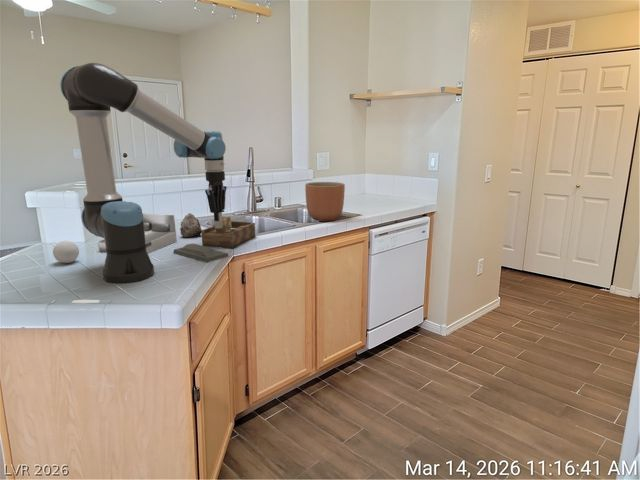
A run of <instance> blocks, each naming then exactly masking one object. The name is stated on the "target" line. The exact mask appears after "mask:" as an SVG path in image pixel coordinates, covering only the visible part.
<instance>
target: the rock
mask: <svg viewBox="0 0 640 480" xmlns="http://www.w3.org/2000/svg"><path fill="white" fill-rule="evenodd" d="M179 230H180V235H181V236H182V237H185V238H191V237H194V236H195V237H200V236H201V235H202V233H201V230H203V229H202V228H201V223H200V221H199V219H198V218H196V217H195V215H194V214H193V213H190V212H189V213H187V215H185V216H184V218H183V220H181V222H180V228H179Z"/></svg>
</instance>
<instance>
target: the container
mask: <svg viewBox="0 0 640 480" xmlns="http://www.w3.org/2000/svg"><path fill="white" fill-rule="evenodd" d="M143 217H144V218H143V221H144V232H145V242H146V251H147V253H148V254H150V253H152V252H155V251H157V250H160V249H162V248H164V247H167V246H169V245H171V244H173V243H175V242H176V243H177V242H178V240H177V230H176V221H175V215H174V214H159V213H158V214H155V213H143ZM97 245H98V251H99V252H100V253H106V246H105V238H103V239H101V240H99V241H98V242H97Z"/></svg>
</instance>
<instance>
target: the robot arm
mask: <svg viewBox="0 0 640 480" xmlns="http://www.w3.org/2000/svg"><path fill="white" fill-rule="evenodd" d="M59 84H60V92H61V93H62V96H63V97H64V98H65V100H66V101H67V105H68V112H69V113H70V114H71V115H72V116H74V117H75V122H76V127H77V134H78V141H79V146H80V148H79V149H80V152H81V153H80V155H81V158H82V159H81V160H82V167H83V171H84V172H83V173H84V178H85V186H86V192H87V193H86V195H85V196H84V197H83V199H82V201H83V209H82V211H81V216H80V217H81V222H82V225H83V227H84V228H85V229H86V230H87V231H88V232H89V233H91V234H93V235H94V236H96V237H99V238H102V239H105V246H106V252H105V253H106V255H105V256H106V257H105V261H104V268H103V270H102V279H103V280H104V281H105V282H108V283H113V284H126V283H133V282H138V281H141V280H146V279H148V278H150V277H152V276H153V275H154V274H155V266H154V264H153V263H152V261H151V258H150V255H149V253H147V251H146V242H145V232H144V221H143V218H144V217H143V214H144V213H143V209H142V207H141V205H139V204H138V203H137V202H132V201H125V200H123V196H122V195H121V194H120V193H119V192H117V186H116V179H115V172H114V165H113V158H112V150H111V143H110V135H109V128H108V127H109V126H108V121H107V117H108V116H109V115H110V114H111V108H113V109H116V110H117V111H118V112H120V113H126V112H127V113H129V114H131V115H132V116H134V117H135V118H137V119H139V120H141V121H143V122H145V123H146V124H148V125H149V126H151V127H153V128H154V129H156V130H158V131H159V132H161V133H163V134H165V135H167V137H170V138H171V139H173V140H174V141H173V152H174V153H175V156H177V157H178V158H185V159H187V158H197V159H198V158H200V159H201V158H202V159H204V170H205V181H206V182H208V188H207V189H205V191H204V192H205V194H206V198H207V203H208V206H209V207H208V208H209V211H210V213H211V214H213V223H214V222H215V224H214V225H215V228H218V229H221V228H223V223H222V216H223V213H225V209H226V192H227V189H228V188H227V186H225V185H224V182H223V181H225V180H226V175H225V174H226V173H225V171H224V170H225V160H224V155H225V153H226V143H225V141H224V139H223V134H222V132H220V131H218V130H217V131H213V130H209V131H203V130H202V129H200V128H198V127H197V126H195V125H194V124H192V123H191V122H189V121H188V120H186V119H185V118H183V117H181V116H180V115H178V114H177V113H175V112H174V111H172V110H170V109H169V108H168V107H166V106H165V105H163V104H161V103H160V102H159V101H157V100H155V99H153V98H152V97H150V96H149V95H147V94H146V93H144V92H143V91H142V90H140V88H139V85H138V84H137V83H135V82H134V81H132V80H131V79H129V78H127V77H126V76H124V75H123V74H121V73H120V72H118V71H116V70H115V69H113V68H111V67H110V66H108V65H105V64H102V63H98V62H90V63H88V62H87V63H85V64H82V65H81V64H80V65H76V66H73V67H71V68H69V69H68V70H67V71H65V72H64V74H63V75H62V77H61V79H60V83H59Z"/></svg>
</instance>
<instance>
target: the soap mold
mask: <svg viewBox="0 0 640 480" xmlns="http://www.w3.org/2000/svg"><path fill="white" fill-rule="evenodd" d="M173 254H174V255H178V256H180V257H185V258H189V259H193V260H196V261H199V262H202V263H210V262H214V261H217V260H220V259H221V260H222V259H224V258H228V257H229V254H228V252H224V251H221V250H217V249H214V247H209V246H202V244H196V243H188V244H187V243H186V244H185V245H184V246H182V247H179V248H174V249H173Z"/></svg>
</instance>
